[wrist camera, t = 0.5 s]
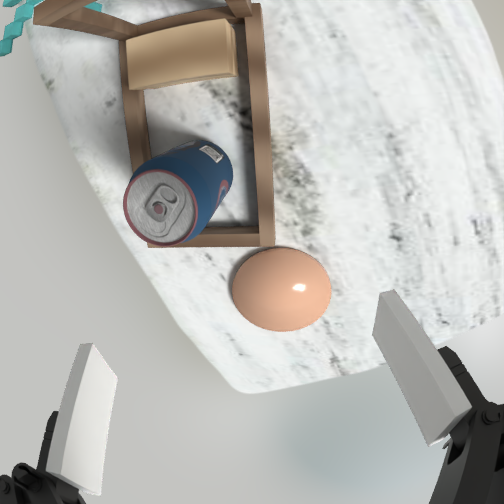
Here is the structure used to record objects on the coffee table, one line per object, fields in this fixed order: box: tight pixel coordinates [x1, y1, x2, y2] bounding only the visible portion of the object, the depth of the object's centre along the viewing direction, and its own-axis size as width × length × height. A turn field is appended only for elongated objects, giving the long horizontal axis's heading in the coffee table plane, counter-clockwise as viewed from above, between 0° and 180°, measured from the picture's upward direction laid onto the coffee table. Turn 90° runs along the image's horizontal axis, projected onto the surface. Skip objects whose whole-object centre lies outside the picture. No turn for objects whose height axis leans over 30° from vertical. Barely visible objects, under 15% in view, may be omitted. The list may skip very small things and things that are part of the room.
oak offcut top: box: [126, 18, 235, 90], centre depth 21 cm, size 5×9×3 cm, turn 94°
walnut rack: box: [33, 0, 275, 248], centre depth 21 cm, size 25×14×16 cm, turn 4°
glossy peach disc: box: [232, 248, 331, 332], centre depth 36 cm, size 12×12×1 cm
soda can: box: [123, 140, 233, 247], centre depth 25 cm, size 7×7×12 cm
